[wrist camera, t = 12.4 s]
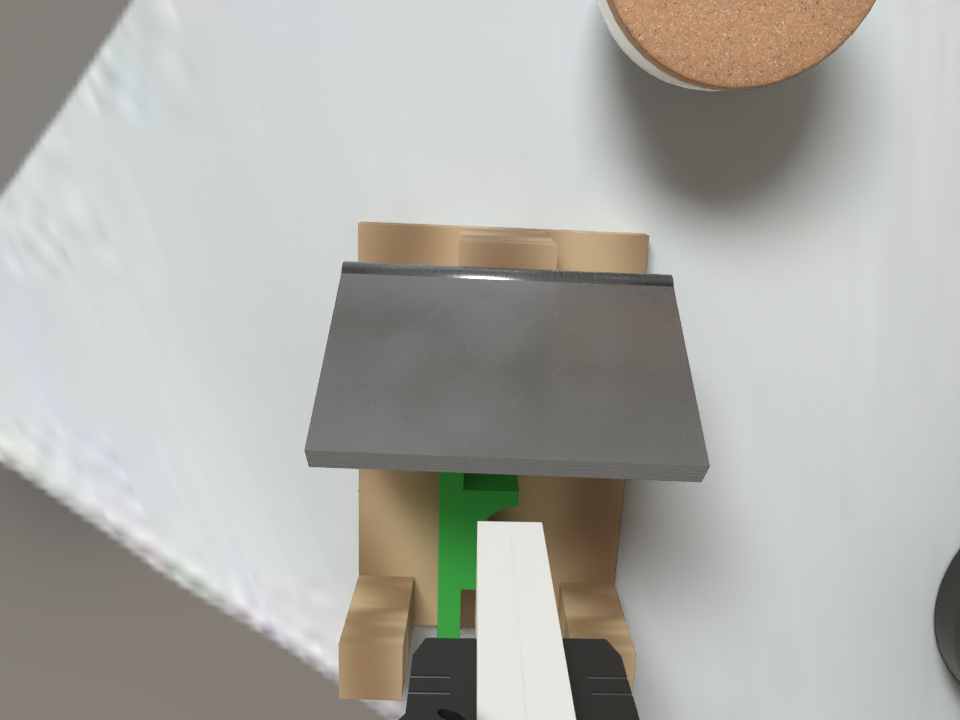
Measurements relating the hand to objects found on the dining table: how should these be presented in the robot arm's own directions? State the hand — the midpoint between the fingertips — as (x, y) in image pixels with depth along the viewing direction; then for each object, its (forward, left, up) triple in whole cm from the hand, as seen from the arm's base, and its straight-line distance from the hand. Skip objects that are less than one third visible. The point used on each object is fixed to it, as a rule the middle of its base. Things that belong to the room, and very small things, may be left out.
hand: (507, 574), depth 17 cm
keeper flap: (0, -2, -11) cm, 11 cm away
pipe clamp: (+1, +8, -21) cm, 22 cm away
